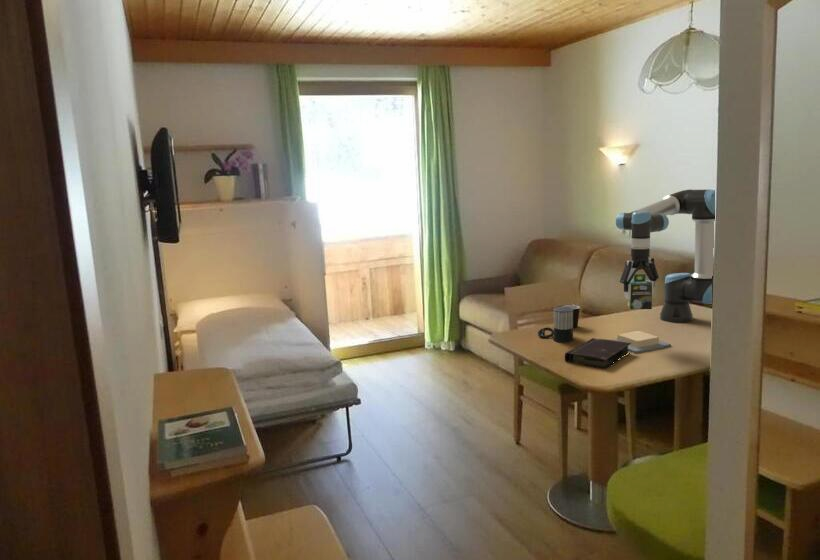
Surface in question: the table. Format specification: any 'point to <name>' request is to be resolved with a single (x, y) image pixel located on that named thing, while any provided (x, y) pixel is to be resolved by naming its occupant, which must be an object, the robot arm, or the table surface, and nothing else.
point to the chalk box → (640, 293)
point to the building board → (642, 349)
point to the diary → (598, 353)
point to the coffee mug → (574, 314)
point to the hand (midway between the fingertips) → (638, 297)
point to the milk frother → (561, 325)
